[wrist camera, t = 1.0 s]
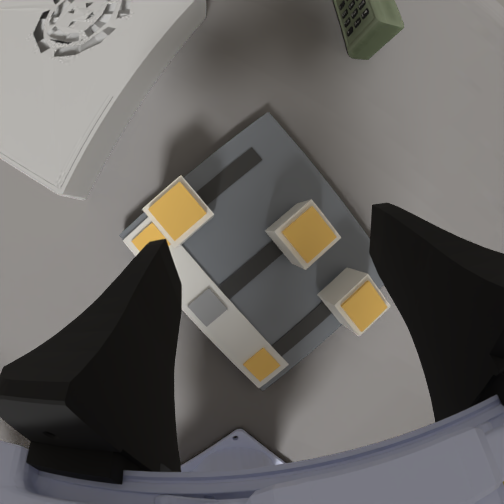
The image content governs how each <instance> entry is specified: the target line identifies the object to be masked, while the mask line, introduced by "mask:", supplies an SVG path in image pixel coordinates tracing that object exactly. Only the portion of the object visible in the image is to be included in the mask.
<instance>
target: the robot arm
mask: <svg viewBox="0 0 504 504" xmlns="http://www.w3.org/2000/svg"><path fill="white" fill-rule="evenodd" d="M369 254H370V256H371V258H372V261H373V263H374V266H375V268H376V270H377V273H378V275H379V277H380V279H381V280H382V282H383V284H384V286H385V287H386V289H387V291H388V293H389V294H390V296H391V298H392V299H393V301H394V303H395V305H396V306H397V308H398V310H399V312H400V314H401V315H402V317H403V319H404V321H405V323H406V325H407V327H408V329H409V331H410V334H411V336H412V339H413V342H414V344H415V347H416V350H417V352H418V355H419V358H420V361H421V365H422V368H423V371H424V374H425V378H426V381H427V385H428V389H429V393H430V397H431V402H432V406H433V412H434V417H435V423H433V424H430V425H428V426H425V427H422V428H420V429H417V430H414V431H412V432H409V433H406V434H403V435H400V436H397V437H394V438H391V439H388V440H384V441H381V442H378V443H374V444H371V445H367V446H364V447H360V448H356V449H353V450H349V451H345V452H340V453H336V454H332V455H327V456H323V457H318V458H313V459H308V460H302V461H297V462H291V463H285V462H284V461H283V460H281V459H280V458H279V457H277V456H276V455H275V454H273V453H272V452H271V451H269V450H268V449H267V448H266V447H264V446H263V445H262V444H261V443H259V442H258V441H257V440H255V439H254V438H253V437H252V436H251V435H249V434H248V433H247V432H246V431H244V430H243V429H237V430H235V431H233V432H232V433H231V434H229V435H228V436H226V437H225V438H223V439H222V440H220V441H219V442H217V443H216V444H214V445H213V446H211V447H210V448H208V449H207V450H205V451H203V452H202V453H200V454H199V455H197V456H196V457H194V458H192V459H191V460H189V461H187V462H186V463H184V464H183V465H181V466H180V459H179V452H178V444H177V433H176V421H175V401H174V366H175V356H176V348H177V340H178V333H179V325H180V318H181V310H182V283H181V281H180V278H179V275H178V272H177V269H176V267H175V264H174V261H173V258H172V255H171V252H170V249H169V246H168V243H167V240H166V239H161V240H155V241H150V242H149V243H148V244H146V245H145V247H144V248H143V249H142V250H141V251H140V252H139V253H138V254H137V255H136V257H135V258H134V259H133V260H132V261H131V262H130V264H129V265H128V266H127V267H126V268H125V269H124V270H123V272H122V273H121V274H120V275H119V276H118V277H117V278H116V279H115V281H114V282H113V283H112V284H111V285H110V286H109V287H108V288H107V289H106V290H105V291H104V292H103V294H102V295H101V296H100V297H99V298H98V299H97V300H96V301H95V302H94V303H93V304H92V305H90V306H89V307H88V308H87V309H86V310H85V311H84V312H83V313H82V314H81V315H79V316H78V317H77V318H76V319H75V320H73V321H72V322H71V323H70V324H68V325H67V326H66V327H65V328H63V329H62V330H61V331H60V332H59V333H57V334H56V335H54V336H53V337H52V338H50V339H49V340H47V341H46V342H45V343H43V344H42V345H40V346H39V347H37V348H36V349H34V350H32V351H31V352H29V353H27V354H26V355H24V356H22V357H20V358H19V359H17V360H15V361H13V362H12V363H10V364H8V365H6V366H4V367H3V369H2V372H1V374H0V417H1V418H2V419H3V420H4V421H5V422H7V423H8V424H9V425H10V426H12V427H13V428H14V429H15V430H17V431H18V432H19V433H21V434H22V435H23V436H24V437H26V438H27V439H28V440H30V441H31V443H30V447H29V449H27V448H25V447H23V446H20V445H17V444H13V443H9V442H5V441H1V440H0V504H504V484H503V481H504V254H503V253H500V252H496V251H493V250H490V249H488V248H485V247H482V246H480V245H477V244H475V243H472V242H470V241H467V240H465V239H462V238H460V237H458V236H456V235H454V234H452V233H450V232H447V231H445V230H443V229H441V228H439V227H437V226H435V225H433V224H431V223H429V222H427V221H425V220H423V219H421V218H420V217H418V216H416V215H414V214H412V213H410V212H408V211H406V210H404V209H402V208H399V207H397V206H395V205H392V204H390V203H382V204H375V205H372V218H371V234H370V247H369ZM234 436H237V438H233V437H234Z"/></svg>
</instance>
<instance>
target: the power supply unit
mask: <svg viewBox="0 0 504 504" xmlns="http://www.w3.org/2000/svg"><path fill="white" fill-rule="evenodd" d="M205 18H206V0H0V159H2V160H3V161H5V162H7V163H8V164H10V165H11V166H13V167H14V168H16V169H17V170H19V171H21V172H22V173H24V174H25V175H27V176H29V177H30V178H32V179H33V180H35V181H37V182H38V183H40V184H41V185H43V186H45V187H46V188H48V189H49V190H51V191H53V192H54V193H56V194H58V195H60V196H65V197H70V198H74V199H79V200H85V199H87V197H88V195H89V193H90V191H91V189H92V187H93V185H94V183H95V181H96V179H97V177H98V175H99V173H100V172H101V170H102V168H103V166H104V164H105V162H106V161H107V159H108V157H109V155H110V153H111V152H112V150H113V148H114V146H115V145H116V143H117V141H118V140H119V138H120V136H121V135H122V133H123V131H124V130H125V128H126V126H127V125H128V123H129V121H130V120H131V118H132V117H133V115H134V114H135V112H136V110H137V109H138V107H139V106H140V104H141V103H142V101H143V100H144V98H145V97H146V95H147V94H148V92H149V91H150V90H151V88H152V87H153V85H154V84H155V82H156V81H157V80H158V78H159V77H160V75H161V74H162V73H163V71H164V70H165V68H166V67H167V66H168V64H169V63H170V62H171V60H172V59H173V58H174V56H175V55H176V54H177V53H178V51H179V50H180V49H181V47H182V46H183V45H184V44H185V42H186V41H187V40H188V39H189V37H190V36H191V35H192V34H193V33H194V31H195V30H196V29H197V28H198V27H199V25H200V24H201V23H202V22H203V21H204V20H205Z"/></svg>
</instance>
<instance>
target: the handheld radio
mask: <svg viewBox="0 0 504 504" xmlns="http://www.w3.org/2000/svg"><path fill="white" fill-rule="evenodd" d="M333 1H334V4H335V8H336V11H337V14H338V18H339V21H340V25H341V28H342V32H343V36H344V39H345V43H346V47H347V51H348V55H349V56H350V57H351V58H354V59H364V60H369V59H370V58H371V57H372V56H373V55H374V54H375V53H376V52H377V51H378V50H380V49H381V48H382V47H383V46H384V45H385V44H386V43H387V42H389V41H390V40H391V39H392V38H393V37H394V36H395V35H396V34H398V33H399V32H400V31H401V30H402V29H403V28H404V23H403V21H402V18H401V15H400V13H399V10H398V8H397V5H396V3H395V0H333Z"/></svg>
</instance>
